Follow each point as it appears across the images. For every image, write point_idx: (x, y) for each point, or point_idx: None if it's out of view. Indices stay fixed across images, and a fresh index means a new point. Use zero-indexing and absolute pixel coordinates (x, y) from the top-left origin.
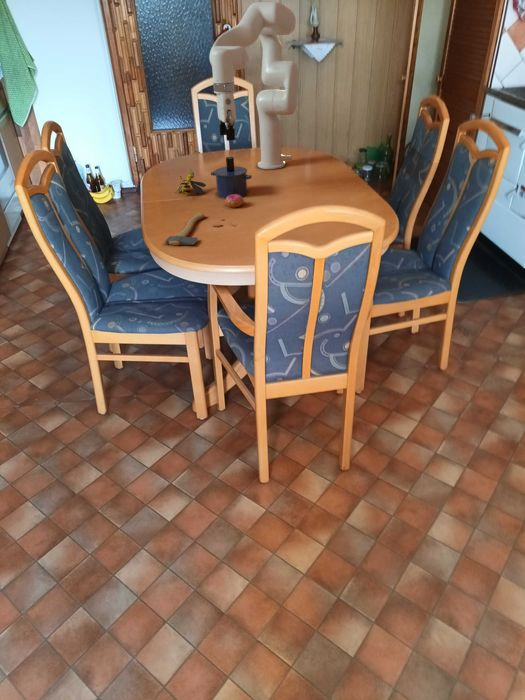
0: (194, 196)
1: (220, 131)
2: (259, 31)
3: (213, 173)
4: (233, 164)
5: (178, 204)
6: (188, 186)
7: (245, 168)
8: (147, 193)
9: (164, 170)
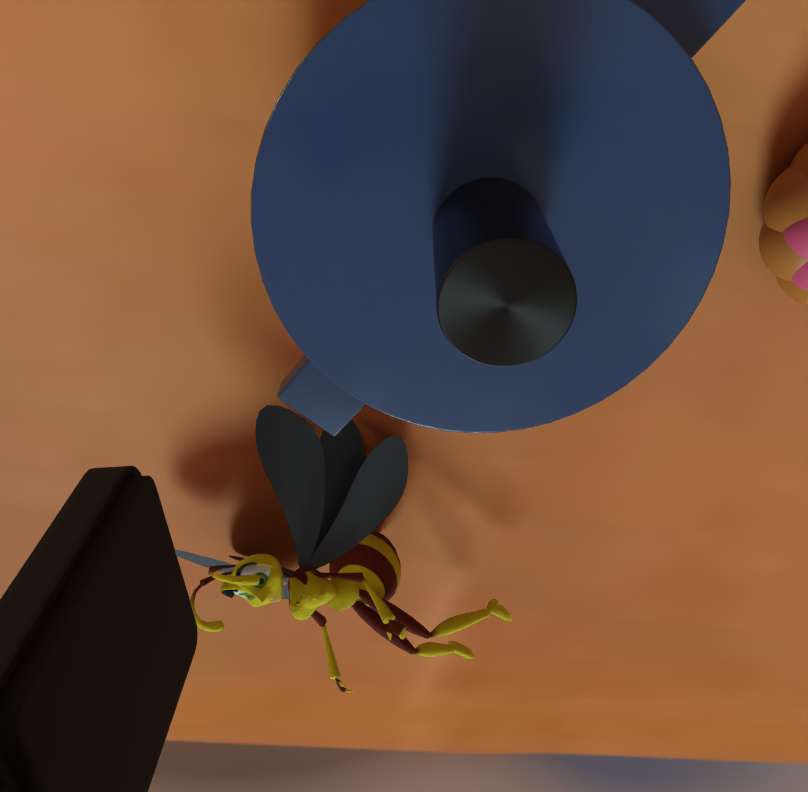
0: (416, 487)
1: (162, 715)
2: None
3: (358, 410)
4: (541, 221)
5: (557, 601)
6: (387, 573)
7: None
8: (235, 737)
9: None
